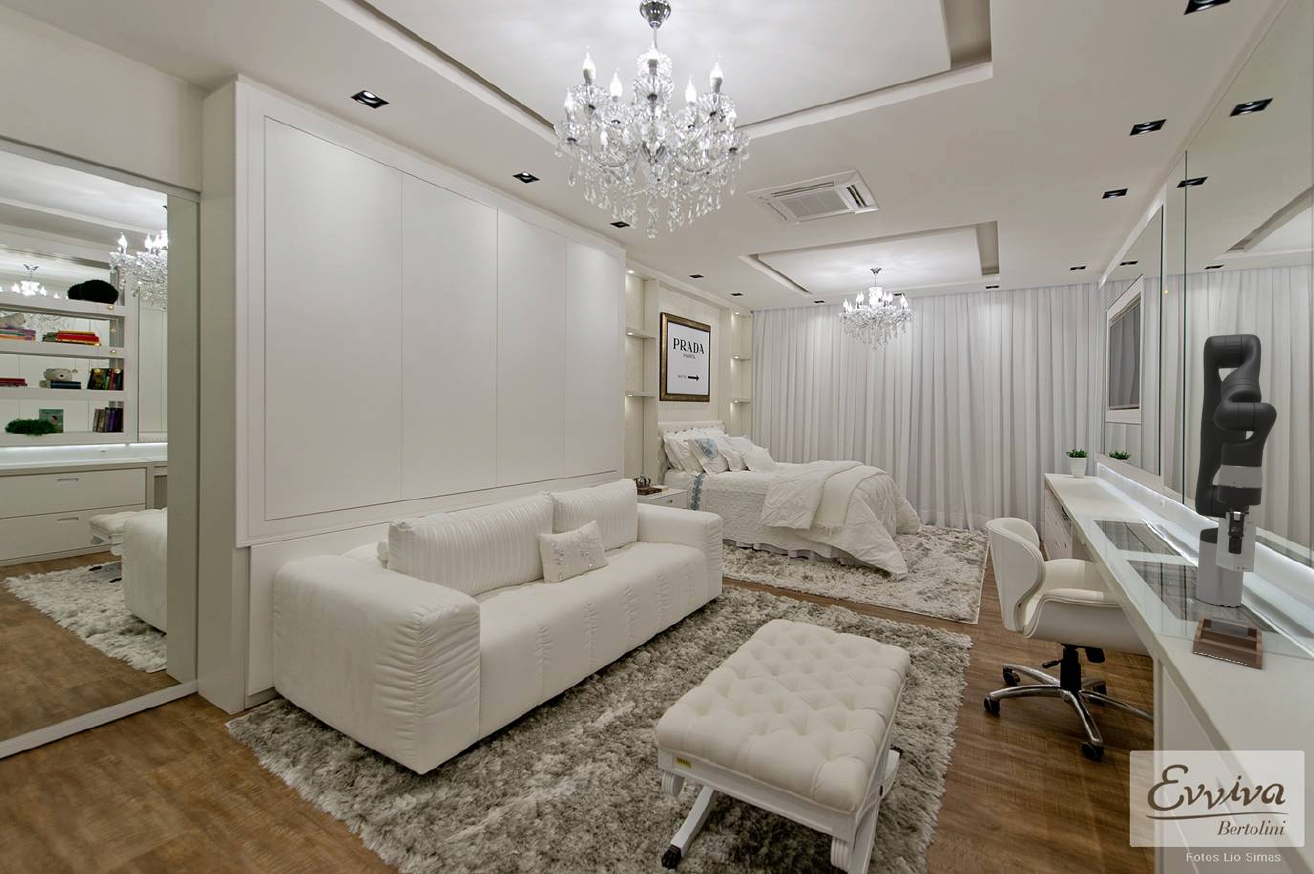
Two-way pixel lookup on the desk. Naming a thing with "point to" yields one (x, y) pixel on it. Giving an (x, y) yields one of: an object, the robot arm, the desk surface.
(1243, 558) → the skincare box
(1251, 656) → the wooden divided tray
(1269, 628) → the desk surface
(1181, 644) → the desk surface
